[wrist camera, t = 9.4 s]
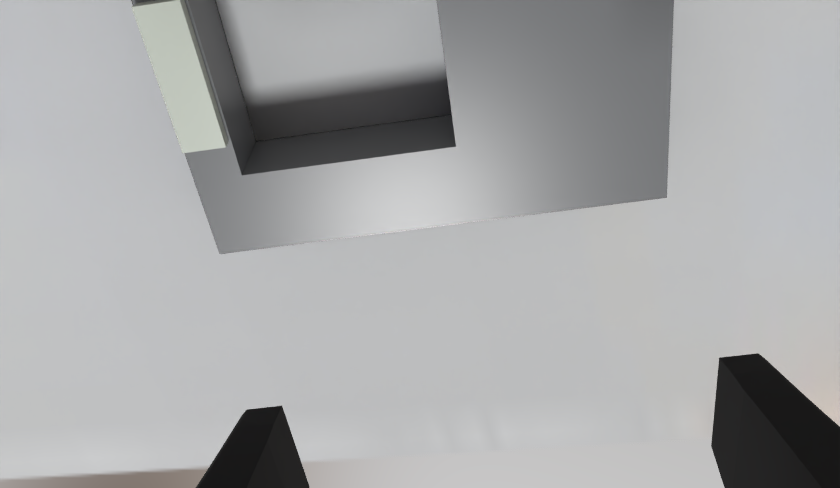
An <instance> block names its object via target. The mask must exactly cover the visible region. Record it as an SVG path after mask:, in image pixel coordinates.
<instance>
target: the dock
mask: <svg viewBox="0 0 840 488" xmlns="http://www.w3.org/2000/svg"><path fill="white" fill-rule="evenodd" d="M131 1H132V4H133V6H132V10H133V13H134V16H135V19H136V22H137V25H138V27H139V30H140V33H141V36H142V39H143V42H144V45H145V47H146V50H147V53H148V56H149V59H150V62H151V65H152V67H153V70H154V73H155V76H156V79H157V82H158V85H159V87H160V90H161V93H162V96H163V99H164V102H165V105H166V107H167V110H168V113H169V116H170V119H171V122H172V125H173V127H174V130H175V133H176V136H177V139H178V142H179V144H180V147H181V150H182V153H185V156H186V159H187V162H188V165H189V168H190V170H191V173H192V176H193V179H194V182H195V185H196V188H197V190H198V193H199V196H200V199H201V202H202V205H203V208H204V211H205V213H206V216H207V219H208V222H209V225H210V228H211V231H212V233H213V236H214V239H215V242H216V245H217V248H218V251H219V254H225V253H232V252H240V251H248V250H256V249H264V248H272V247H280V246H288V245H296V244H304V243H312V242H320V241H327V240H335V239H343V238H351V237H359V236H367V235H375V234H383V233H391V232H399V231H407V230H415V229H422V228H430V227H438V226H446V225H454V224H462V223H470V222H478V221H486V220H494V219H502V218H510V217H517V216H525V215H533V214H541V213H549V212H557V211H565V210H573V209H581V208H589V207H597V206H605V205H612V204H620V203H628V202H636V201H644V200H652V199H660V198H667V176H668V148H669V120H670V92H671V63H672V35H673V7H674V0H437V7H438V14H439V22H440V29H441V37H442V44H443V52H444V59H445V67H446V74H447V82H448V90H449V97H450V105H451V112H452V115H447V116H440V117H433V118H425V119H418V120H411V121H403V122H396V123H389V124H382V125H374V126H367V127H360V128H353V129H345V130H338V131H331V132H323V133H316V134H309V135H302V136H294V137H287V138H280V139H273V140H265V141H258V142H256V140H255V137H254V133H253V130H252V127H251V123H250V120H249V116H248V113H247V109H246V106H245V102H244V99H243V95H242V92H241V89H240V85H239V82H238V78H237V75H236V71H235V68H234V64H233V61H232V57H231V54H230V51H229V47H228V44H227V40H226V37H225V33H224V30H223V26H222V23H221V19H220V16H219V13H218V9H217V6H216V2H215V0H131Z"/></svg>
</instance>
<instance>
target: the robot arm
mask: <svg viewBox="0 0 840 488" xmlns="http://www.w3.org/2000/svg"><path fill="white" fill-rule="evenodd" d="M711 446H712V449H713V453H714V456H715V459H716V462H717V465H718V468H719V472H720V474H721V478H722V481H723V484H724V487H725V488H840V427H839V426H838V425H837V424H836V423H835V422H834V421H833V420H831V419H830V418H829V417H828V416H827V415H826V414H825V413H823V412H822V411H821V410H820V409H819V408H818V407H817V406H816V405H815V404H813V403H812V402H811V401H810V400H809V399H808V398H807V397H806V396H805V395H804V394H802V393H801V392H800V391H799V390H798V389H797V388H796V387H795V386H794V385H793V384H792V383H791V382H789V381H788V380H787V379H786V378H785V377H784V376H783V375H782V374H781V373H780V372H779V371H778V370H776V369H775V368H774V367H773V366H772V365H771V364H770V363H769V362H768V361H767V360H766V359H765V358H763V357H762V356H761V355H760V354H749V355H740V356H731V357H722V358H719V368H718V379H717V390H716V401H715V412H714V423H713V434H712V445H711ZM196 488H309V484H308V482H307V478H306V476H305V472H304V469H303V467H302V464H301V461H300V458H299V455H298V452H297V449H296V446H295V443H294V440H293V437H292V434H291V431H290V428H289V425H288V422H287V419H286V416H285V414H284V411H283V408H282V406H276V407H267V408H258V409H249V410H246V411H245V413H244V414H243V415H242V416H241V418H240V419H239V421H238V423H237V424H236V426H235V427H234V429H233V431H232V432H231V434H230V435H229V437H228V439H227V440H226V442H225V443H224V445H223V447H222V448H221V450H220V451H219V453H218V454H217V456H216V458H215V459H214V461H213V462H212V464H211V465H210V467H209V468H208V470H207V472H206V473H205V475H204V476H203V478H202V479H201V481H200V482H199V484H198V485H197V487H196Z"/></svg>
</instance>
